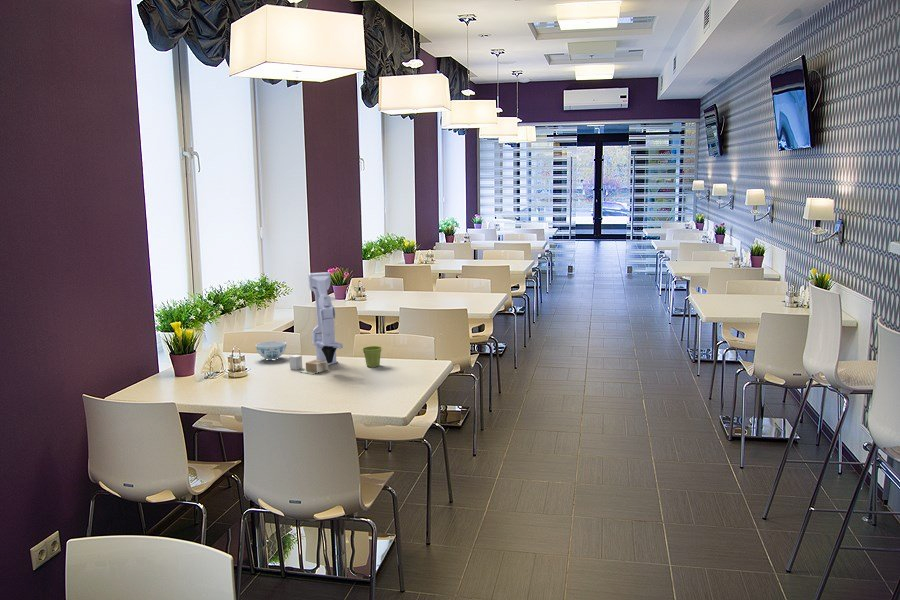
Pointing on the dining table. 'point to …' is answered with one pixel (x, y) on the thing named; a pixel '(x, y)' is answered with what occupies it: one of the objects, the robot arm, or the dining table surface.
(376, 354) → the plant pot
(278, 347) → the chinaware
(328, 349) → the robot arm
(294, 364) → the grey block
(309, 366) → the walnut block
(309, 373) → the sage mat
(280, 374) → the dining table surface
